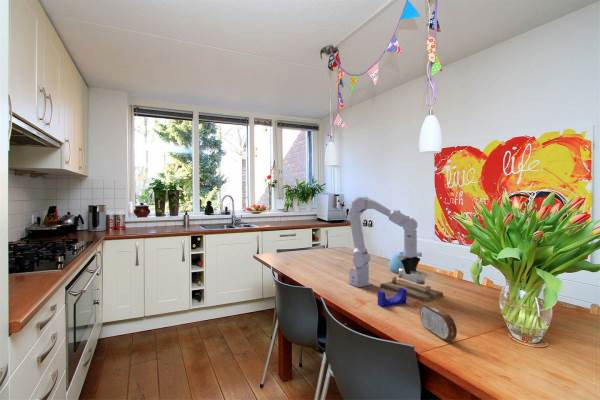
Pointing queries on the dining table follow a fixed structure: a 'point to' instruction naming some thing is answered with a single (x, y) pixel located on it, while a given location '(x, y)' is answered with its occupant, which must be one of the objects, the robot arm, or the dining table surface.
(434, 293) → the peg rack
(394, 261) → the sugar bowl
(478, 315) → the dining table surface
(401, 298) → the cable clip
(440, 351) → the dining table surface
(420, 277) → the silver cylinder
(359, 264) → the robot arm
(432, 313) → the speaker
